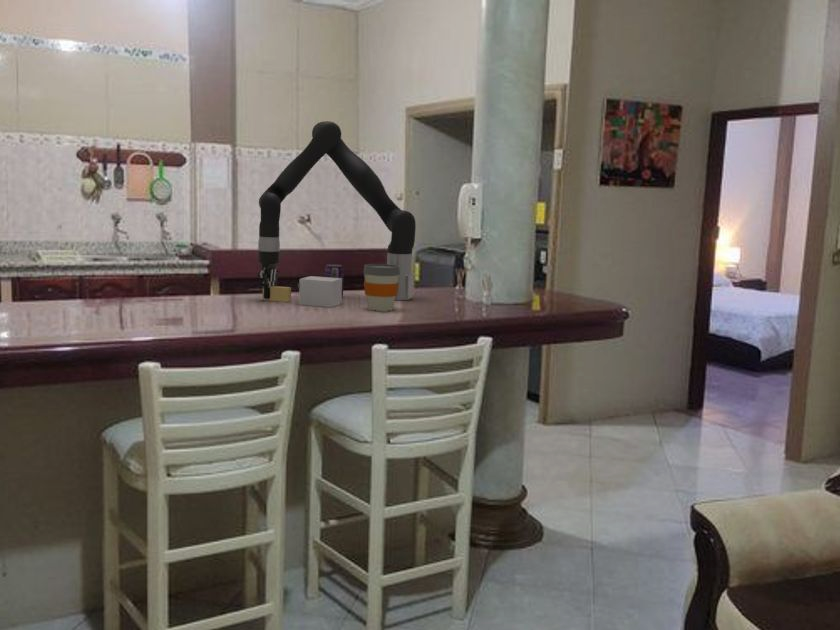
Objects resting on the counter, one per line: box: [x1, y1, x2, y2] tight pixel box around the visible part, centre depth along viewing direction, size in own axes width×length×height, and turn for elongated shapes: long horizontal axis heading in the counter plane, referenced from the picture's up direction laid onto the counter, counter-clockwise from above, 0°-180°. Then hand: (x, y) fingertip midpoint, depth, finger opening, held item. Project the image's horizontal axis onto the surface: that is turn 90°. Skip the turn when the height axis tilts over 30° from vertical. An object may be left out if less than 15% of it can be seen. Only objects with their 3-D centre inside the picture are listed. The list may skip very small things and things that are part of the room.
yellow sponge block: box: [261, 285, 292, 303], centre depth 281 cm, size 10×2×5 cm, turn 76°
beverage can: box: [324, 263, 345, 297], centre depth 296 cm, size 7×7×12 cm
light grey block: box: [297, 275, 343, 308], centre depth 277 cm, size 13×10×9 cm
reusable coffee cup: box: [362, 263, 400, 312], centre depth 272 cm, size 13×13×15 cm
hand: (268, 297), depth 282 cm, fingers closed on yellow sponge block, 1 cm apart
